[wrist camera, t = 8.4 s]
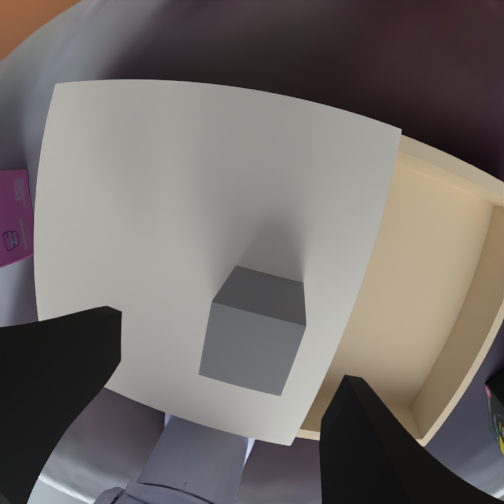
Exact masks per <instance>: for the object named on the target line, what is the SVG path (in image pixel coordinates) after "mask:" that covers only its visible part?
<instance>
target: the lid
mask: <svg viewBox="0 0 504 504" xmlns="http://www.w3.org/2000/svg"><path fill="white" fill-rule="evenodd" d="M401 131H402V129H399V128H397V127H394V126H391V125H389V124H386V123H383V122H380V121H377V120H374V119H371V118H368V117H365V116H362V115H358V114H355V113H352V112H349V111H345V110H342V109H338V108H335V107H331V106H327V105H323V104H319V103H315V102H311V101H307V100H303V99H298V98H294V97H289V96H285V95H280V94H275V93H269V92H264V91H258V90H252V89H246V88H239V87H232V86H224V85H216V84H207V83H197V82H185V81H169V80H136V79H125V80H93V81H78V82H66V83H57V84H55V88H54V92H53V95H52V99H51V103H50V107H49V112H48V116H47V121H46V126H45V131H44V136H43V142H42V148H41V154H40V161H39V168H38V177H37V187H36V198H35V215H34V272H35V289H36V300H37V310H38V319H39V321H42V320H47V319H52V318H56V317H60V316H64V315H68V314H72V313H76V312H79V311H83V310H87V309H91V308H96V307H101V306H109V307H112V308H114V309H117V310H119V311H122V328H121V362H120V364H119V365H118V367H117V368H116V370H115V372H114V373H113V375H112V376H111V378H110V379H109V381H108V382H107V383H106V385H105V386H104V387H106V388H108V389H110V390H112V391H115V392H117V393H119V394H121V395H123V396H126V397H128V398H130V399H133V400H135V401H137V402H140V403H142V404H145V405H147V406H150V407H152V408H155V409H157V410H160V411H163V412H165V413H168V414H171V415H174V416H177V417H180V418H183V419H185V420H189V421H192V422H195V423H198V424H201V425H204V426H208V427H211V428H215V429H218V430H222V431H225V432H229V433H233V434H237V435H241V436H245V437H249V438H253V439H258V440H263V441H267V442H272V443H278V444H283V445H289V446H290V445H291V444H292V442H293V440H294V438H295V436H296V434H297V432H298V431H299V429H300V427H301V425H302V423H303V421H304V419H305V417H306V415H307V413H308V411H309V409H310V407H311V405H312V403H313V401H314V399H315V397H316V395H317V392H318V390H319V388H320V386H321V384H322V382H323V379H324V377H325V375H326V373H327V371H328V368H329V366H330V364H331V361H332V359H333V357H334V354H335V352H336V350H337V347H338V345H339V342H340V340H341V338H342V335H343V333H344V330H345V328H346V325H347V322H348V320H349V317H350V315H351V312H352V309H353V306H354V304H355V301H356V298H357V295H358V293H359V290H360V287H361V284H362V281H363V278H364V275H365V272H366V269H367V266H368V263H369V260H370V257H371V253H372V250H373V247H374V244H375V240H376V237H377V233H378V230H379V226H380V223H381V219H382V216H383V212H384V208H385V204H386V200H387V196H388V192H389V188H390V184H391V180H392V176H393V171H394V167H395V162H396V157H397V152H398V147H399V142H400V137H401Z"/></svg>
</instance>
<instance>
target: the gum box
mask: <svg viewBox="0 0 504 504" xmlns="http://www.w3.org/2000/svg"><path fill="white" fill-rule="evenodd" d="M31 256H34V220H33V214H32V206H31V200H30V193H29V185H28V173H27V170H26V169H22V170H3V171H0V268H2V267H4V266H7V265H9V264H12V263H15V262H17V261H20V260H22V259H25V258H28V257H31Z"/></svg>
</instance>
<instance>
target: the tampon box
mask: <svg viewBox="0 0 504 504" xmlns="http://www.w3.org/2000/svg"><path fill="white" fill-rule="evenodd" d="M485 388H486V393H487V402H488V411H489V421H490V430H491V434H492V435H493V437H494V438H495V440H496V441H497V443H498V445H499V447H500V448H501V450H502V452H503V454H504V370H503V371H502V372H501V373H499V374H498V375H497V376H496V377H494V378H493V379H492V380H491V381H489V382H488V383H487V384H486V385H485Z"/></svg>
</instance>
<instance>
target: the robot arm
mask: <svg viewBox="0 0 504 504" xmlns="http://www.w3.org/2000/svg"><path fill="white" fill-rule="evenodd" d="M121 328H122V311H119V310H117V309H114V308H112V307H109V306H101V307H96V308H91V309H87V310H83V311H79V312H76V313H72V314H68V315H64V316H60V317H56V318H52V319H47V320H42V321H37V322H32V323H28V324H22V325H16V326H8V327H0V504H27V502H28V499H29V497H30V494H31V492H32V489H33V487H34V485H35V483H36V481H37V479H38V477H39V475H40V473H41V471H42V469H43V467H44V465H45V464H46V462H47V460H48V458H49V456H50V455H51V453H52V451H53V450H54V448H55V446H56V445H57V443H58V442H59V440H60V439H61V437H62V436H63V434H64V433H65V431H66V430H67V429H68V427H69V426H70V425H71V423H72V422H73V421H74V420H75V419H76V418H77V417H78V415H79V414H80V413H81V412H82V411H83V410H84V409H85V407H86V406H87V405H88V404H89V403H90V402H91V401H92V400H93V398H94V397H95V396H96V395H97V394H98V393H99V392H100V390H101V389H102V388H103V387H104V386H105V385H106V383H107V382H108V381H109V379H110V378H111V376H112V375H113V373H114V372H115V370H116V368H117V367H118V365H119V364H120V362H121ZM254 441H255V439H253V438H249V437H245V436H241V435H237V434H233V433H229V432H225V431H222V430H218V429H215V428H211V427H208V426H204V425H201V424H198V423H195V422H192V421H189V420H185V419H183V418H180V417H177V416H174V415H171V414H168V413H165V427H164V430H163V432H162V434H161V436H160V438H159V440H158V442H157V444H156V445H155V447H154V449H153V451H152V453H151V455H150V457H149V459H148V461H147V462H146V464H145V466H144V468H143V470H142V472H141V474H140V476H139V478H138V479H137V481H136V482H134V481H132V480H130V482H129V484H128V485H127V487H126V489H125V490H124V489H122V488H120V487H114V488H112V489H108V490H106V491H104V492H103V493H102V494H101V495H100V496H99V497H98V498H97V499H96V501H95V502H94V504H235V502H236V497H237V493H238V489H239V484H240V480H241V475H242V471H243V467H244V465H245V463H246V460H247V458H248V456H249V453H250V451H251V449H252V446H253V444H254ZM319 450H320V469H321V489H322V504H504V501H502V500H499V499H497V498H495V497H493V496H491V495H489V494H487V493H485V492H483V491H481V490H479V489H477V488H476V487H474V486H472V485H471V484H469V483H467V482H466V481H464V480H463V479H461V478H460V477H458V476H457V475H456V474H454V473H453V472H451V471H450V470H449V469H447V468H446V467H445V466H444V465H442V464H441V463H440V462H439V461H438V460H437V459H435V458H434V457H433V456H432V455H431V454H430V453H429V452H427V451H426V450H425V449H424V448H423V447H422V446H421V445H420V444H419V443H418V442H417V441H416V440H415V438H414V437H413V436H412V435H411V434H410V433H409V432H408V431H407V430H406V429H405V428H404V427H403V425H402V424H401V423H400V422H399V421H398V420H397V418H396V417H395V416H394V415H393V414H392V412H391V411H390V410H389V409H388V408H387V406H386V405H385V404H384V403H383V401H382V400H381V399H380V398H379V396H378V395H377V394H376V393H375V392H374V390H373V389H372V388H371V387H370V385H369V384H368V383H367V382H366V381H365V380H364V379H363V378H362V377H356V376H351V375H344V377H343V379H342V381H341V383H340V385H339V387H338V389H337V391H336V392H335V394H334V396H333V398H332V400H331V402H330V404H329V406H328V408H327V409H326V411H325V413H324V415H323V417H322V419H321V428H320V442H319Z"/></svg>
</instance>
